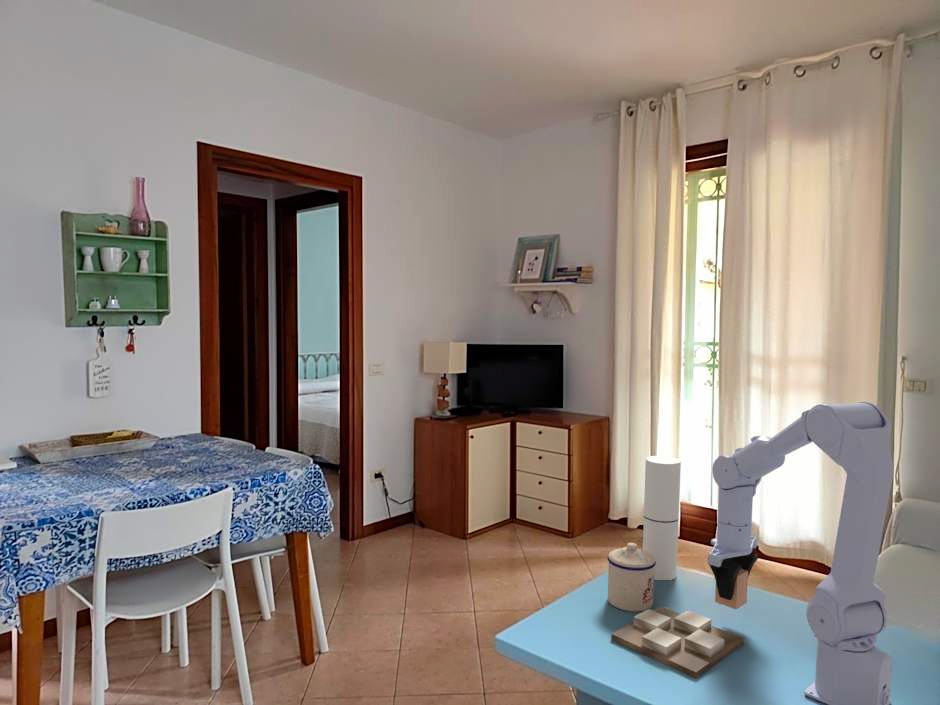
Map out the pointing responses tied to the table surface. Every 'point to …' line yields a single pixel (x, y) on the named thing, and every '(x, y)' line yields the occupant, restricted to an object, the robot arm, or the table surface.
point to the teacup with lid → (631, 578)
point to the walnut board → (681, 654)
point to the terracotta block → (736, 592)
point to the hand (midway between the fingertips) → (731, 594)
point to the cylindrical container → (662, 514)
